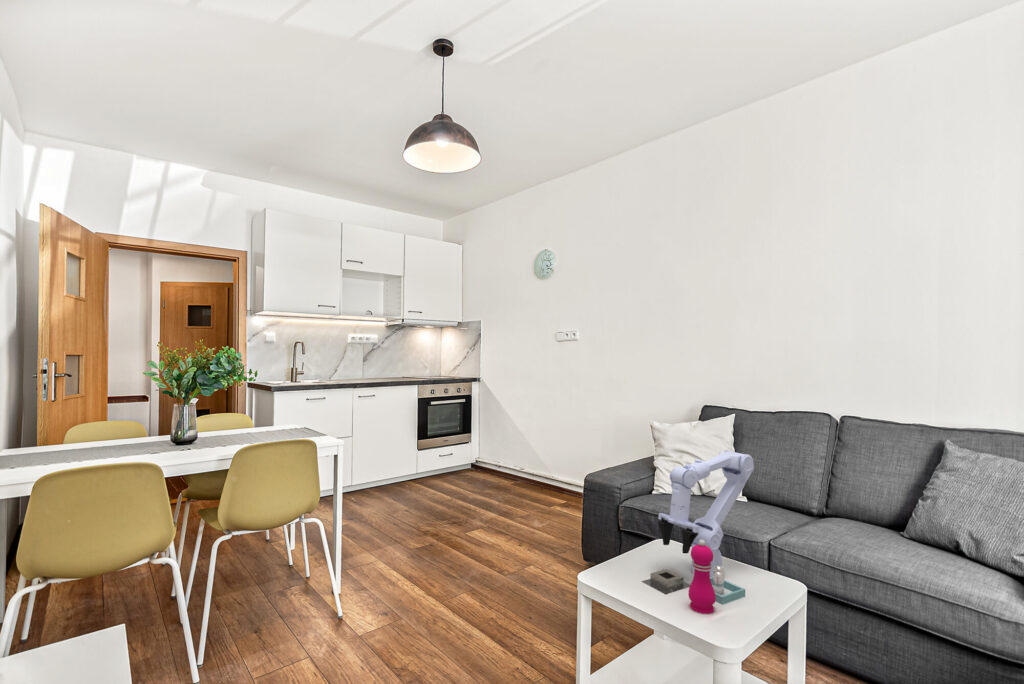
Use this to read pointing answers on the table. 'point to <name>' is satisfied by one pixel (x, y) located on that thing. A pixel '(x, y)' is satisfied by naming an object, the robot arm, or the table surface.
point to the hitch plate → (666, 581)
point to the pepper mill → (702, 580)
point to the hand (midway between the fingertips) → (675, 548)
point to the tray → (734, 595)
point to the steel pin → (718, 580)
